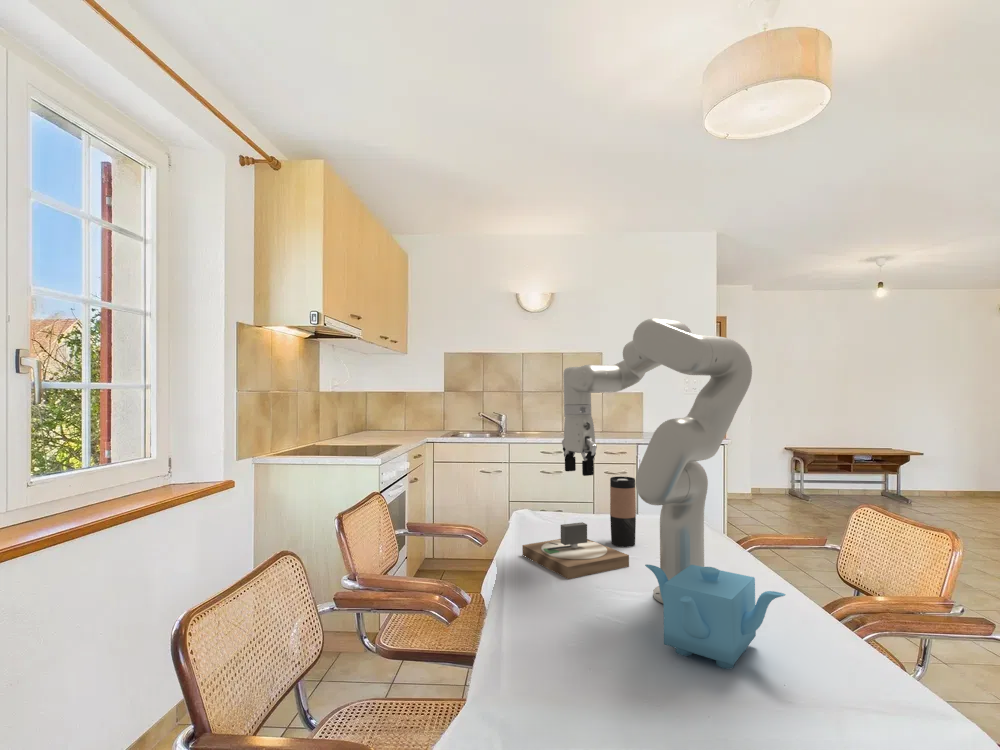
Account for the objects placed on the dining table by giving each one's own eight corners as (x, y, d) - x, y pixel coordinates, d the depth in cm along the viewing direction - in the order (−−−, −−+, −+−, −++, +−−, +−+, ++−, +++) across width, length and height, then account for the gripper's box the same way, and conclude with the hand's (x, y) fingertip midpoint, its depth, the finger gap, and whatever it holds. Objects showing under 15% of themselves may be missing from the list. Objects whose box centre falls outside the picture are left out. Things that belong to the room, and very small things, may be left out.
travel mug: (634, 540, 170) (633, 476, 170) (637, 547, 162) (637, 480, 163) (609, 540, 171) (608, 476, 171) (611, 547, 163) (611, 480, 164)
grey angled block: (582, 544, 153) (582, 522, 153) (587, 546, 150) (587, 524, 151) (546, 549, 148) (545, 526, 148) (550, 551, 146) (549, 528, 146)
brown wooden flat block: (629, 566, 145) (628, 553, 145) (568, 579, 136) (567, 564, 136) (579, 545, 165) (578, 533, 165) (522, 555, 155) (522, 543, 155)
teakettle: (731, 626, 109) (730, 552, 109) (791, 674, 90) (789, 585, 91) (640, 631, 107) (639, 555, 107) (682, 682, 88) (681, 590, 89)
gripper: (606, 411, 145) (607, 476, 144) (574, 410, 161) (575, 468, 160) (581, 412, 142) (583, 478, 141) (551, 411, 158) (552, 470, 157)
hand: (578, 473), depth 150 cm, fingers open, 9 cm apart
